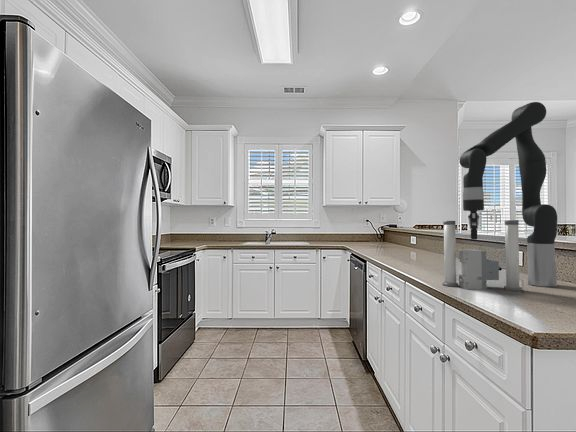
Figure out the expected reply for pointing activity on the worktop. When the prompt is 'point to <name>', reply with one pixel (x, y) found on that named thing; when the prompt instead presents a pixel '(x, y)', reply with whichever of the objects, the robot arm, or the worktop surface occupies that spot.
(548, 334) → the worktop surface
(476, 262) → the circuit breaker
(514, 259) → the post
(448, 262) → the post
